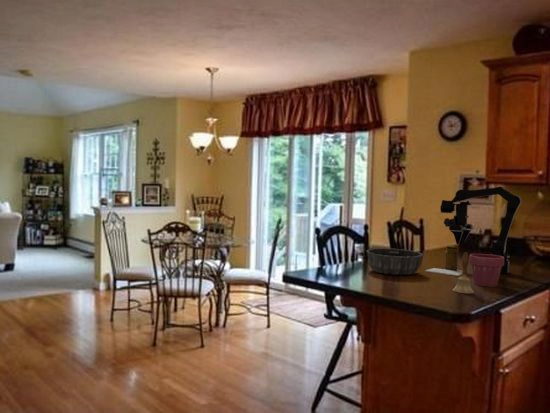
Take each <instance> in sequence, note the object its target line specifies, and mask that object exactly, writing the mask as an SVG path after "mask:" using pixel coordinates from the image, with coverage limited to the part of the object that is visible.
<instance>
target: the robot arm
mask: <svg viewBox="0 0 550 413" xmlns="http://www.w3.org/2000/svg"><path fill="white" fill-rule="evenodd" d="M496 195H499V196H500V197H501V198H503V199H504V200H505V201H507V203H506V214H505V216H504V219H503V223H502V225H501V229H500V231H499V236H498V238H497V240H493V241H492V245H491V248H490V250H491V255H498V256H503V257H504V266H502V268H501V272H500V274H506V275H507V274H510V272H511V271H510V260H509V259H510V254H508V252H507V251H506V249H507V240H508V236H509V233H510V230H511V226H512V224H513V222H514V218H515V215H516V214H517V211H518V210H519V208H520V207H521V204H522V198H521V196H519V195H514V194H513V193H512V192H510V191H509V190H508V189H505V188H504V187H503V186H497V187H496V186H495V187H489V188H480V189H473V190H472V189H458V190H457V191H456V192H455V196H454V197H453V199H451V200H446V199H443V200H441V205H440V213H441V214H443V213H444V214H453V213H454V212H455V215H454V216H453V218H449V217H447V218H444V220H443V225H444V226H445V227H446V228H448V230H449V231H450V232H451V233H452V234H453V236H454V240H455V243H456V245H459V244H460V241H461V243H462V244H465V243H466V242H467V239H468V236H470V233H471V232H472V230H473V229H474V228H473V227H474V226H473V225H472V223H468V218H469V217H470V216H469V215H468V206H472V205H473V204H472V203H471V202H470V200H471V199H474V198H480V197H487V196H489V197H490V196H496Z"/></svg>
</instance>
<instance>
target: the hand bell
mask: <svg viewBox="0 0 550 413" xmlns="http://www.w3.org/2000/svg"><path fill="white" fill-rule="evenodd" d="M469 258H470V256H469V254H468V252H466V251H465V252H463V255H462V258H461V265H462V271H461V272H463V273H462V275H460V276H458V278H457V282H456V285H455V287H454V288H453V289H452V291H453V292H455V293H460V294H466V295H467V294H470V295H471V294H475V291H474V290H473V289H472V286H471V279H470V278H468V276H467V272H468V270H467V269H468V266H469V264H470V263H469Z"/></svg>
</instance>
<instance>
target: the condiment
mask: <svg viewBox="0 0 550 413" xmlns="http://www.w3.org/2000/svg"><path fill="white" fill-rule="evenodd" d="M444 257H445V258H444V260H445V261H444V269H445V270H452V271H459V272H462V271H463V269H462V270H461V269H458V264H459V262H458V261H459V260H458V258H459V253H458V246H453V245H452V246H451V245H447V246H446V251H445V254H444Z"/></svg>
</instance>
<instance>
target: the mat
mask: <svg viewBox="0 0 550 413" xmlns="http://www.w3.org/2000/svg"><path fill="white" fill-rule="evenodd" d="M424 272H425V273H432V274H438V273H439V274H440V275H447V276H451V277H452V276H453V277H454V276H455V277H461V276H462V273H463V272H462V271H461V272H459V271H452V270H445V268H437V267H436V268H435V267H433V268H428V269H426V270H424ZM439 274H438V275H439Z"/></svg>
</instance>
